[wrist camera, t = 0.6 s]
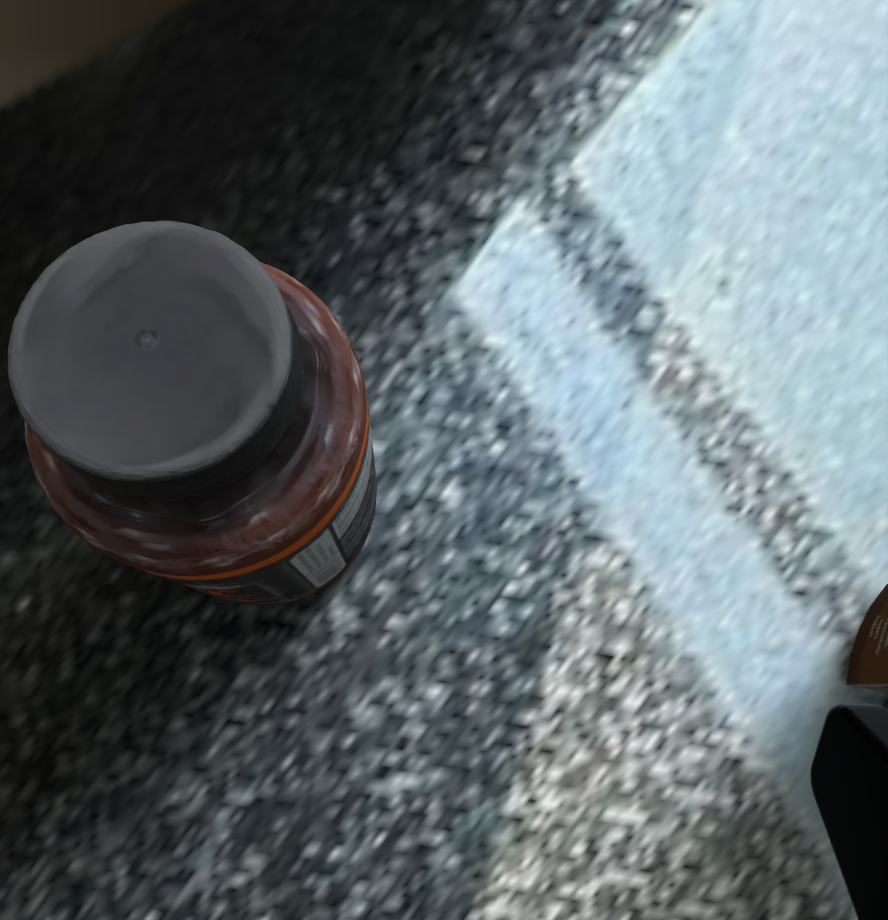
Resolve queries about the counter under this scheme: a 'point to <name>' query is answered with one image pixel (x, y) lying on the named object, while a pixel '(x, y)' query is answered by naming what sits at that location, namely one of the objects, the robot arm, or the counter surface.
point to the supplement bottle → (195, 413)
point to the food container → (871, 649)
